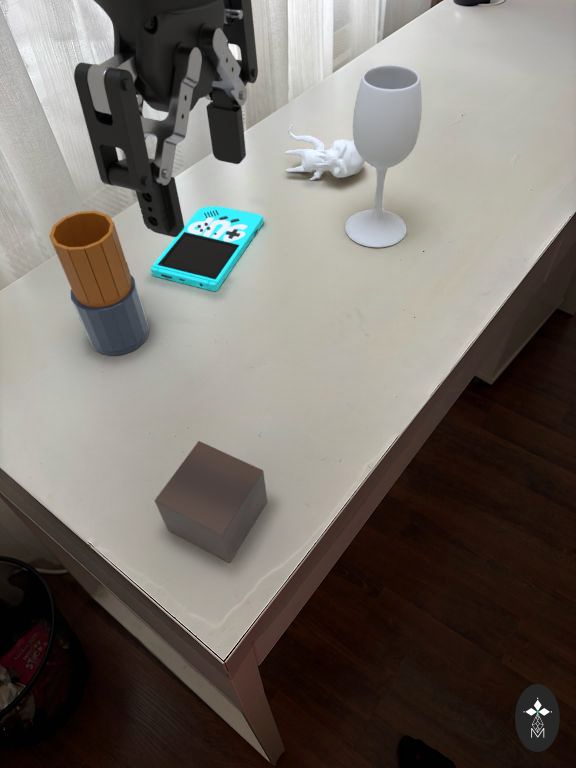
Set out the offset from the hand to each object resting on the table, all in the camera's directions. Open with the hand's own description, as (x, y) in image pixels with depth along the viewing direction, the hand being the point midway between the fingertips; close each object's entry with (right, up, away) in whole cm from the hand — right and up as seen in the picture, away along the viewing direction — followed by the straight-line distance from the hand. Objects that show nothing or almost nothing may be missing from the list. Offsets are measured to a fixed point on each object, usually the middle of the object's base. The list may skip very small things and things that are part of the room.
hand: (200, 193), depth 38 cm
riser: (-1, -25, +19) cm, 31 cm away
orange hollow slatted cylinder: (-15, -2, +28) cm, 32 cm away
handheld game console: (-5, +6, +44) cm, 45 cm away
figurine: (+12, +21, +55) cm, 60 cm away
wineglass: (+18, +10, +46) cm, 50 cm away
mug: (-15, -5, +35) cm, 38 cm away
